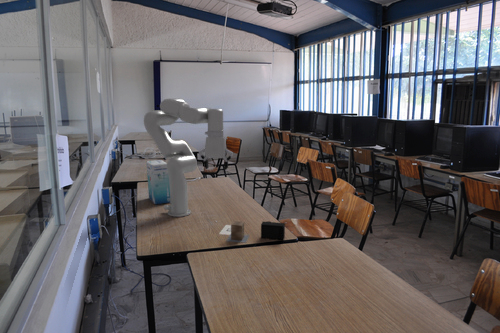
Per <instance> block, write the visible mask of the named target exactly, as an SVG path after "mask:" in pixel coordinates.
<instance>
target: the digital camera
mask: <svg viewBox="0 0 500 333" xmlns="http://www.w3.org/2000/svg"><path fill="white" fill-rule="evenodd" d="M285 230H286V223H285V222H274V221H273V222H272V221H262V222H261V224H260V239H265V240H267V239H268V240H271V241H282V242H283V241H284V240H285V236H286V235H285V234H286V232H285Z"/></svg>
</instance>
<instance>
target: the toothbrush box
mask: <svg viewBox="0 0 500 333" xmlns="http://www.w3.org/2000/svg"><path fill="white" fill-rule="evenodd" d="M145 165H146V173H147V174H146V176H147V177H146V178H147V188H148V199H149V200H150V201H151V202H152V203H153V204H154V205H155V206H156V205H161V204H170V185H169V175H168V170H167V162H165V161H164V160H162V159H159V160H158V159H156V160H148V161H146V164H145Z"/></svg>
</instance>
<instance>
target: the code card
mask: <svg viewBox="0 0 500 333" xmlns="http://www.w3.org/2000/svg"><path fill="white" fill-rule="evenodd" d="M230 234H231V224H225V225H224V227H223V228H222V229H221V231H220V232H219V233H218V235H227V236H230Z"/></svg>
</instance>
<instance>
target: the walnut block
mask: <svg viewBox="0 0 500 333" xmlns="http://www.w3.org/2000/svg"><path fill="white" fill-rule="evenodd" d="M230 225H231V240H243V238H244V235H245V221H235V220H234V221H232V223H231V224H230Z"/></svg>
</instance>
